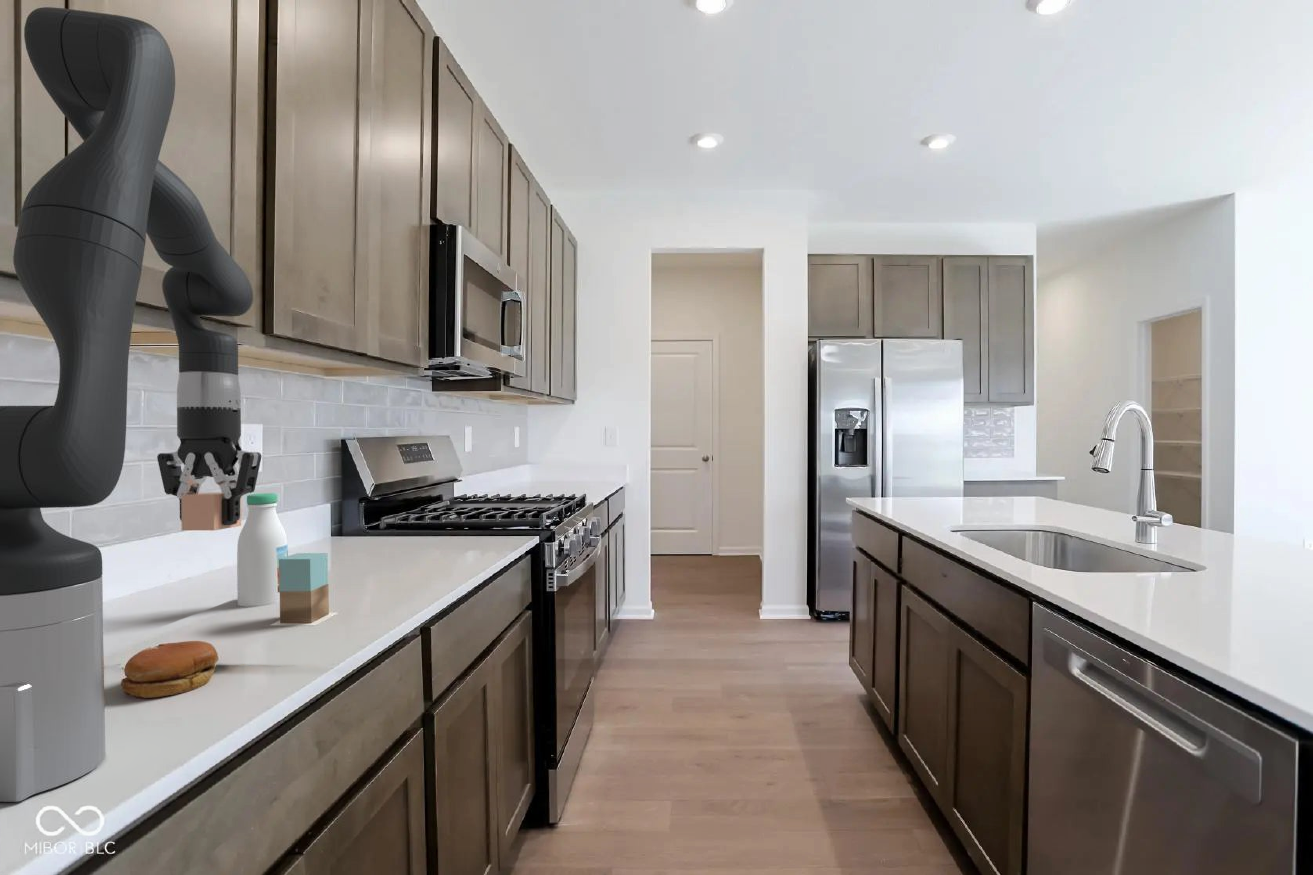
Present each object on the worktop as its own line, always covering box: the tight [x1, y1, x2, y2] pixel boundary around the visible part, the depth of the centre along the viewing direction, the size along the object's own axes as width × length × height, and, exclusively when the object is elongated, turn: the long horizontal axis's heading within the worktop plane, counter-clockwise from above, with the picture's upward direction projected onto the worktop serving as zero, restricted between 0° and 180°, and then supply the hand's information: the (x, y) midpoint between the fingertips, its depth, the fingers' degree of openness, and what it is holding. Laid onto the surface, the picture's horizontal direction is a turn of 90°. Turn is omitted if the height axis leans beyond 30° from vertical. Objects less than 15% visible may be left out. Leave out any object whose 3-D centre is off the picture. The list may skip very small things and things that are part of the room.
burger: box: [120, 640, 219, 699], centre depth 80 cm, size 10×9×5 cm
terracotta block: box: [181, 491, 242, 531], centre depth 93 cm, size 5×5×5 cm
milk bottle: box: [236, 492, 289, 608], centre depth 115 cm, size 8×8×20 cm
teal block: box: [279, 552, 329, 591], centre depth 104 cm, size 5×5×5 cm
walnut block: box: [279, 583, 330, 623], centre depth 104 cm, size 5×5×5 cm
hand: (210, 524), depth 93 cm, fingers closed on terracotta block, 5 cm apart
